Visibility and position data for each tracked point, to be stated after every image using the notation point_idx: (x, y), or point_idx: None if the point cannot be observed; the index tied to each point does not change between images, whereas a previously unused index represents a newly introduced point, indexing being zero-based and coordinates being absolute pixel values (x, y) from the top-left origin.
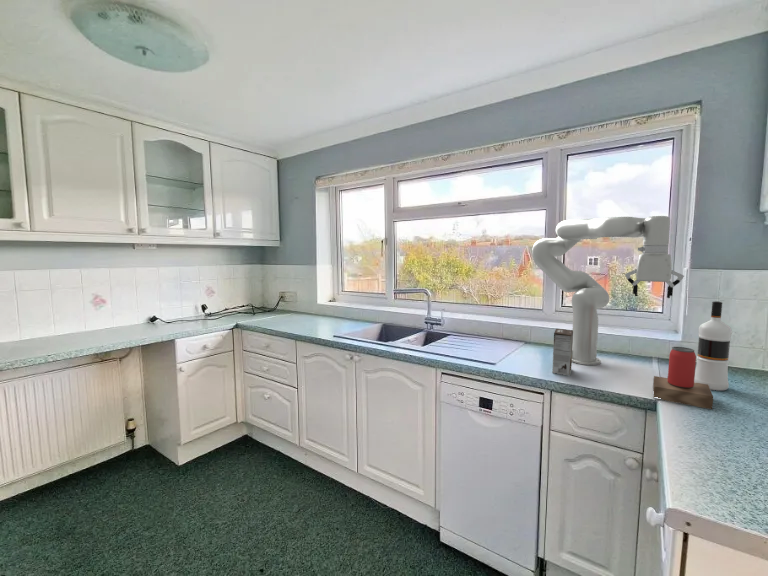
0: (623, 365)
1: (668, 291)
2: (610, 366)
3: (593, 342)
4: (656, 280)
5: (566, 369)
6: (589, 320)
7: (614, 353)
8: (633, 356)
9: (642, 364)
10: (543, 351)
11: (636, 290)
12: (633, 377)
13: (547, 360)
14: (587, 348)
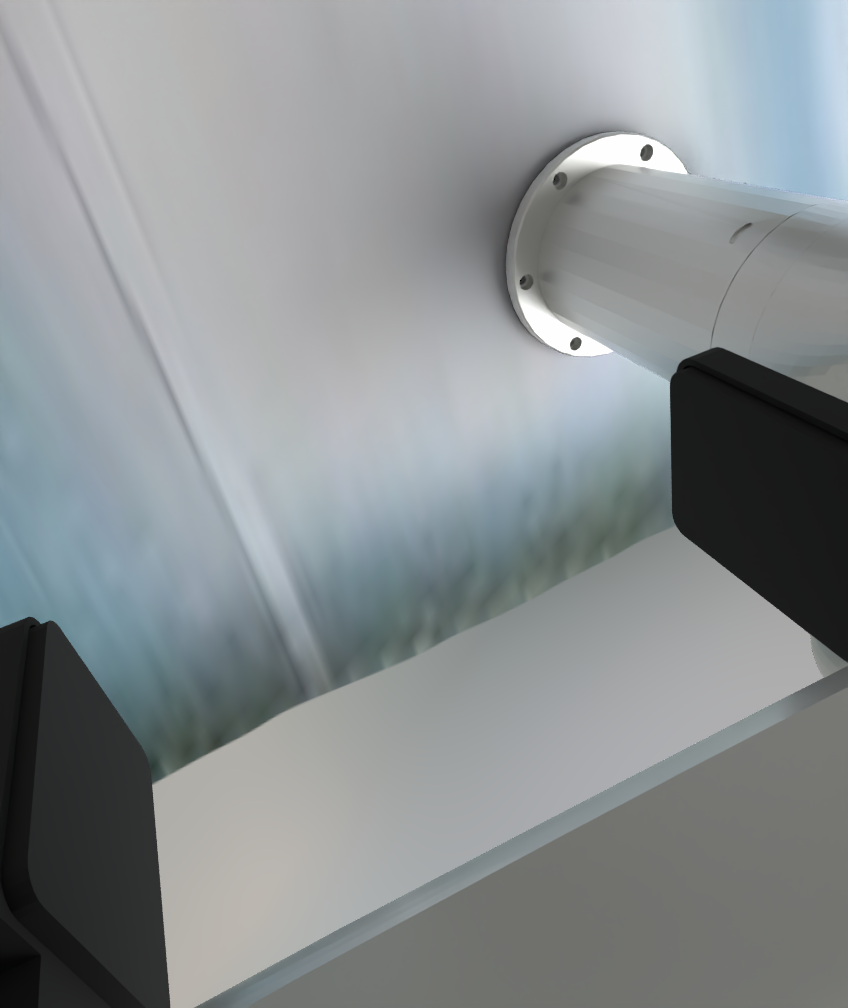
0: (388, 369)
1: (7, 759)
2: (438, 268)
3: (636, 246)
4: (540, 873)
5: None
6: (834, 243)
7: (501, 579)
8: (408, 611)
9: (316, 495)
10: None
11: (802, 403)
12: (235, 101)
13: (781, 39)
14: (637, 196)
